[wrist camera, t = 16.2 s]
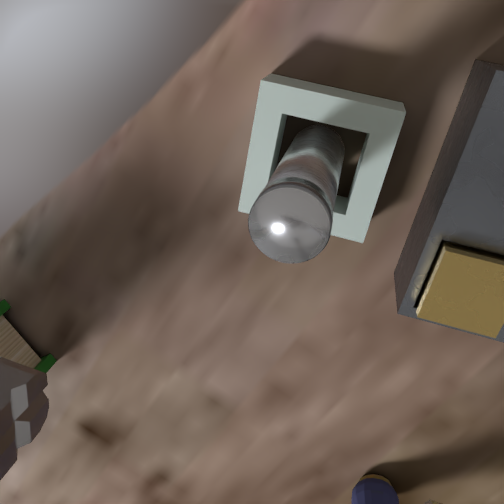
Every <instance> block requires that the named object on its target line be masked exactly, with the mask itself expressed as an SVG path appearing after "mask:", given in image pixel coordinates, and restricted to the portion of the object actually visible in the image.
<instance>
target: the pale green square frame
mask: <svg viewBox="0 0 504 504" xmlns="http://www.w3.org/2000/svg"><path fill="white" fill-rule="evenodd" d="M287 115H291V116H295V117H300V118H304V119H308V120H313V121H317V122H321V123H326V124H330V125H334V126H339V127H343V128H347V129H352V130H356V131H360V132H365V133H367V134H366V138H365V141H364V144H363V148H362V151H361V154H360V158H359V161H358V165H357V168H356V171H355V175H354V178H353V181H352V185H351V188H350V191H349V195H348V198H346V197H342V196H338V195H337V196H336V201H335V207H334V212H333V223H332V229H331V234H330V235H333V236H337V237H341V238H345V239H349V240H353V241H357V242H360V243H363V242H364V239H365V236H366V233H367V230H368V227H369V224H370V220H371V217H372V214H373V211H374V208H375V205H376V202H377V199H378V196H379V193H380V190H381V187H382V184H383V181H384V178H385V175H386V172H387V169H388V166H389V163H390V160H391V157H392V154H393V151H394V148H395V145H396V142H397V139H398V136H399V133H400V130H401V127H402V124H403V121H404V118H405V115H406V110H405V107H404V104H403V103H402V102H398V101H393V100H389V99H384V98H380V97H375V96H371V95H366V94H362V93H357V92H353V91H348V90H344V89H339V88H335V87H330V86H326V85H321V84H317V83H312V82H308V81H303V80H299V79H294V78H290V77H285V76H281V75H276V74H272V73H271V74H269V75H268V76H266V77H265V78H263V79H262V80H261V83H260V89H259V94H258V100H257V106H256V111H255V117H254V123H253V128H252V134H251V140H250V145H249V151H248V157H247V162H246V168H245V174H244V179H243V185H242V191H241V196H240V202H239V208H238V211H240V212H244V213H248V214H249V213H250V210H251V208H252V206H253V204H254V202H255V201H256V199H257V197H258V196H259V194H260V192H261V191H262V190H263V189H264V188H265V186H266V185H267V183H268V181H269V180H270V178H271V176H272V175H273V173H274V171H275V170H276V167H277V163H278V158H279V153H280V148H281V144H282V139H283V134H284V129H285V125H286V120H287Z"/></svg>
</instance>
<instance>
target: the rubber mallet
mask: <svg viewBox="0 0 504 504" xmlns="http://www.w3.org/2000/svg"><path fill="white" fill-rule="evenodd" d="M352 504H399V499H398V496H397V494H396V492H395V490H394V489H393V487H392V485H391V483H390V482H389V480H388V479H386V478H384V477H383V476H380V475H375V474H371V475H365V476H364V477H362V478H360V481H359V482H358V483H357V484H356V486H355V487H354V489H353V492H352Z"/></svg>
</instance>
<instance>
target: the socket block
mask: <svg viewBox="0 0 504 504" xmlns="http://www.w3.org/2000/svg"><path fill="white" fill-rule="evenodd" d="M441 240H445V241H449V242H453V243H457V244H461V245H465V246H469V247H473V248H477V249H481V250H485V251H489V252H493V253H497V254H501V255H504V65H499V64H495V63H490V62H485V61H480V60H476V59H475V62H474V64H473V67H472V70H471V72H470V75H469V78H468V80H467V83H466V85H465V88H464V91H463V93H462V96H461V98H460V101H459V104H458V106H457V109H456V112H455V114H454V117H453V119H452V122H451V125H450V127H449V130H448V133H447V135H446V138H445V140H444V143H443V146H442V148H441V151H440V154H439V156H438V159H437V161H436V164H435V167H434V169H433V172H432V175H431V177H430V180H429V182H428V185H427V188H426V190H425V193H424V195H423V198H422V201H421V203H420V206H419V209H418V211H417V214H416V216H415V219H414V222H413V224H412V227H411V230H410V232H409V235H408V237H407V240H406V243H405V245H404V248H403V251H402V253H401V256H400V258H399V261H398V264H397V266H396V269H395V271H394V280H395V291H396V302H397V313H398V314H401V315H405V316H408V317H412V318H416V319H419V320H423V321H427V322H431V323H434V324H438V325H442V326H445V327H449V328H453V329H456V330H460V331H464V332H467V333H471V334H475V335H478V336H482V337H486V338H489V339H493V340H497V341H501V342H504V324H503V326H502V328H501V329H500V331H499V333H498V335H497V337H496V338H492V337H489V336H485V335H481V334H478V333H474V332H470V331H467V330H463V329H459V328H455V327H452V326H448V325H444V324H441V323H437V322H433V321H430V320H426V319H422V318H419V317H417V314H416V310H417V308H418V306H419V303H420V302H419V296H418V295H419V292H420V290H421V288H422V285H423V283H424V280H425V278H426V276H427V273H428V271H429V269H430V266H431V264H432V261H433V259H434V257H435V254H436V252H437V250H438V247H439V245H440V243H441Z"/></svg>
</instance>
